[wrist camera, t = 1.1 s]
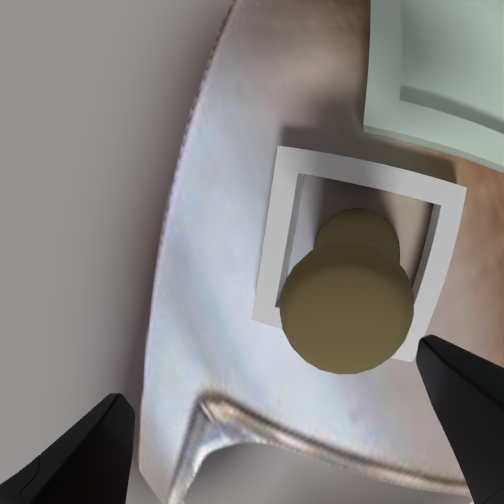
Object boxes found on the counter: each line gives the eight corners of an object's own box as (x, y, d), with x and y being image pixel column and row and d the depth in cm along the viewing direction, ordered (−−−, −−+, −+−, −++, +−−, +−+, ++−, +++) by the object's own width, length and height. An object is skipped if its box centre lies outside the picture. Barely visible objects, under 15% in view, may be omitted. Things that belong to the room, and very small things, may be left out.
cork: (413, 227, 17) (462, 279, 7) (379, 307, 19) (379, 416, 9) (329, 195, 19) (285, 209, 9) (302, 276, 21) (238, 360, 11)
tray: (551, 16, 6) (561, 6, 4) (567, 204, 11) (584, 207, 9) (369, -51, 12) (367, -68, 9) (363, 132, 17) (362, 125, 15)
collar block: (457, 186, 15) (466, 187, 13) (409, 347, 19) (411, 362, 17) (286, 148, 19) (277, 145, 17) (261, 308, 23) (251, 319, 21)
